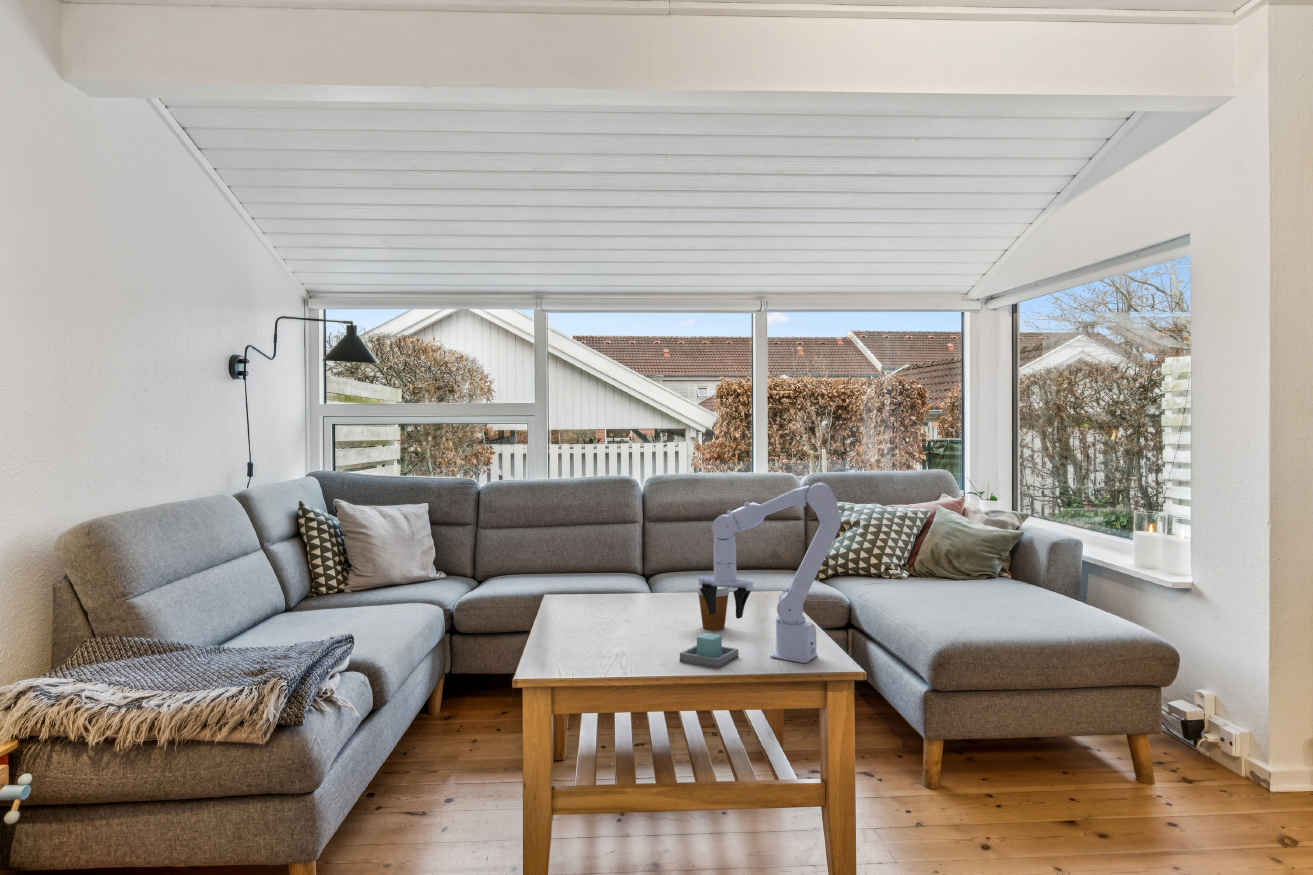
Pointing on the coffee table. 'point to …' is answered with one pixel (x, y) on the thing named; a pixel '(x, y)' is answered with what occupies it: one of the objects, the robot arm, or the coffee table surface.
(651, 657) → the coffee table surface
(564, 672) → the coffee table surface
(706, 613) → the disposable coffee cup
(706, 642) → the teal block
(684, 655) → the tray
